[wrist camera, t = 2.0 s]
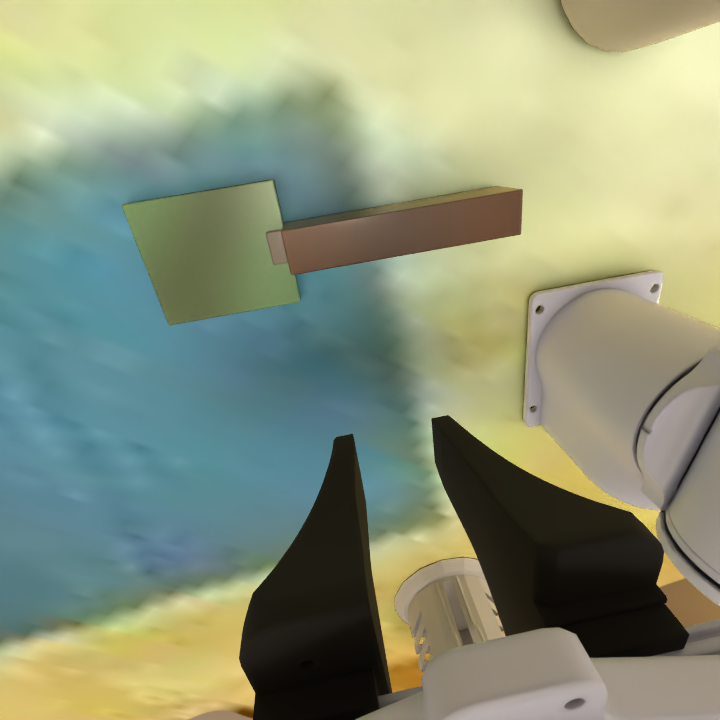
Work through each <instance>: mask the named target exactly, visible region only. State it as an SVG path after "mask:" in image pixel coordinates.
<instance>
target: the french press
mask: <svg viewBox="0 0 720 720" xmlns="http://www.w3.org/2000/svg"><path fill="white" fill-rule="evenodd" d="M395 611H396V612H397V614H398V615H399V616H400V618H401V619H402V620H403V621H404V622H405V623H407V624H409V625H410V628H411V632H412V637H413V638H414V637H416V638H415V644H414V646H415V650H416V654H420V656H419V661H418V664H419V668H420V671H421V672H423V671H424V670H425V667H426V666H427V664H428V663H429V662H430V661H432V660H433V659H434V658H435V657H436V656H438V655H439V654H441V653H443V652H446V651H449V650H451V649H454V648H457V647H461V646H465V645H470V644H474V643H479V642H483V641H488V640H492V639H497V638H501V637H506V635H504V634H503V633H502V632H503V631H504V629H503V626H502V624H501V621H500V619H499V618H498V617H497V615H498V612H497V609H496V606H495V604H494V601H493V598H492V595H491V593H490V590H489V587H488V584H487V582H486V579H485V576H484V574H483V571H482V568H481V566H480V563H479V561H478V559H471V558H465V557H462V558H455V559H448V560H441V561H439V562H436V563H434V564H431V565H429V566H427V567H424V568H422V569H420V570H418V571H417V572H416V573H415V574H413V575H412V576H411V577H409V578H408V579H407V580H406V581H404V582H403V584H402V586H401V587H400V589H399V591H398V593H397V594H396V596H395ZM421 637H423V638H425V640H424V643H423V644H419V641H420V638H421ZM429 644H430V645H429ZM426 653H429V654H431V655H430V658H429V661H424V657H425V654H426Z"/></svg>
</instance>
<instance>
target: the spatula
mask: <svg viewBox="0 0 720 720" xmlns="http://www.w3.org/2000/svg"><path fill="white" fill-rule="evenodd" d="M522 198H523V190H522V189H515V188H507V187H498V186H495V187H489V188H483V189H477V190H472V191H466V192H460V193H454V194H448V195H442V196H437V197H431V198H425V199H419V200H413V201H407V202H402V203H396V204H390V205H384V206H378V207H373V208H367V209H361V210H355V211H349V212H343V213H338V214H332V215H326V216H320V217H314V218H308V219H303V220H297V221H291V222H285V223H284V222H283V218H282V213H281V209H280V204H279V200H278V195H277V191H276V187H275V182H274V180H273V179H272V180H266V181H260V182H254V183H248V184H242V185H236V186H230V187H224V188H218V189H212V190H206V191H200V192H194V193H188V194H182V195H176V196H170V197H164V198H158V199H152V200H146V201H140V202H134V203H128V204H123V205H122V208H123V211H124V213H125V216H126V218H127V221H128V223H129V226H130V228H131V231H132V233H133V236H134V238H135V241H136V244H137V246H138V249H139V251H140V254H141V256H142V259H143V261H144V264H145V266H146V269H147V271H148V274H149V276H150V279H151V281H152V284H153V286H154V289H155V291H156V294H157V297H158V299H159V302H160V304H161V307H162V309H163V312H164V314H165V317H166V319H167V322H168V324H169V325H175V324H180V323H186V322H191V321H197V320H202V319H208V318H213V317H219V316H224V315H230V314H235V313H241V312H247V311H252V310H258V309H263V308H269V307H274V306H280V305H285V304H291V303H296V302H300V299H301V298H300V293H299V289H298V284H297V280H296V276H295V274H301V273H307V272H312V271H318V270H324V269H329V268H335V267H340V266H346V265H352V264H357V263H363V262H369V261H374V260H380V259H385V258H391V257H397V256H402V255H408V254H414V253H419V252H425V251H431V250H436V249H442V248H447V247H453V246H459V245H464V244H470V243H476V242H481V241H487V240H492V239H498V238H504V237H509V236H515V235H520V234H521V224H522Z"/></svg>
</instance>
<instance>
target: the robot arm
mask: <svg viewBox="0 0 720 720" xmlns="http://www.w3.org/2000/svg"><path fill="white" fill-rule="evenodd" d="M663 279H664V275H663V273H662V272H660V271H657V270H652V271H646V272H641V273H635V274H630V275H624V276H619V277H614V278H608V279H603V280H597V281H592V282H586V283H581V284H576V285H570V286H565V287H559V288H554V289H548V290H543V291H538V292H535V293H534V294H532V295H531V297H530V299H529V310H528V330H527V351H526V371H525V391H524V411H523V422H524V423H525V424H526V425H527V426H528V427H534V426H539V425H541V426H542V427H543V428H544V429H545V430H546V432H547V433H548V434H549V435H550V436H551V437H552V438H553V439H554V440H555V442H556V443H557V444H558V445H559V446H560V447H561V448H562V449H563V450H564V451H565V453H566V454H567V455H568V456H569V457H570V458H571V459H572V460H573V461H574V463H575V464H576V465H577V466H578V467H579V468H580V469H581V470H582V471H583V473H584V474H585V475H586V476H587V477H588V478H589V479H590V480H591V481H592V482H593V483H594V484H595V485H596V486H597V487H599V488H600V489H601V490H603V491H604V492H606V493H607V494H609V495H611V496H612V497H614V498H616V499H618V500H621V501H623V502H625V503H627V504H630V505H633V506H636V507H640V508H644V509H651V510H661V512H660V513H659V515H658V517H657V520H656V533H657V537H658V539H657V538H656V537H655V536H654V535H653V534H652V533H651V532H650V531H649V530H648V529H647V528H646V526H645V525H644V524H643V523H642V522H641V521H639V520H638V519H637V518H636V517H635V516H634V515H633V514H632V513H631V512H628V511H625V510H622V509H619V508H615V507H612V506H609V505H605V504H602V503H599V502H596V501H593V500H590V499H587V498H584V497H582V496H579V495H576V494H574V493H571V492H569V491H566V490H564V489H561V488H559V487H557V486H555V485H553V484H550V483H548V482H546V481H544V480H542V479H540V478H538V477H536V476H534V475H532V474H530V473H528V472H526V471H525V470H523V469H521V468H519V467H517V466H516V465H514V464H512V463H511V462H509V461H508V460H506V459H504V458H503V457H501V456H500V455H498V454H497V453H496V452H494V451H493V450H491V449H490V448H489V447H487V446H486V445H485V444H483V443H482V442H481V441H479V440H478V439H477V438H475V437H474V436H473V435H472V434H470V433H469V432H468V431H467V430H465V429H464V428H463V427H462V426H461V425H459V424H458V423H457V422H456V421H455V420H454V419H452V418H451V417H450V416H448V415H447V416H442V417H436V418H432V431H433V443H434V456H435V464H436V466H437V469H438V472H439V475H440V478H441V481H442V484H443V486H444V488H445V491H446V493H447V495H448V497H449V499H450V501H451V503H452V505H453V507H454V509H455V511H456V513H457V515H458V517H459V519H460V521H461V523H462V525H463V527H464V529H465V531H466V533H467V535H468V537H469V539H470V541H471V544H472V546H473V548H474V550H475V553H476V555H477V558H478V561H479V563H480V566H481V568H482V571H483V574H484V576H485V579H486V582H487V584H488V587H489V590H490V593H491V595H492V598H493V601H494V604H495V606H496V609H497V612H498V615H499V618H500V621H501V624H502V626H503V629H504V632H505V635H506V637H501V638H497V639H492V640H488V641H483V642H479V643H474V644H470V645H465V646H461V647H457V648H454V649H451V650H449V651H446V652H443V653H441V654H439V655H438V656H436V657H435V658H434V659H433V660H432V661H430V662H429V663H428V664H427V666H426V667H425V670H424V673H423V676H422V679H421V680H422V686H421V687H417V688H412V689H408V690H403V691H399V692H395V693H392V689H391V683H390V678H389V672H388V666H387V660H386V654H385V648H384V643H383V637H382V631H381V625H380V619H379V613H378V607H377V601H376V595H375V589H374V583H373V577H372V570H371V562H370V549H369V536H368V523H367V510H366V501H365V495H364V489H363V484H362V478H361V473H360V468H359V463H358V458H357V452H356V447H355V442H354V437H353V434H350V435H345V436H340V437H336V438H335V439H334V443H333V450H332V455H331V459H330V463H329V466H328V469H327V472H326V475H325V478H324V481H323V484H322V486H321V489H320V491H319V494H318V496H317V499H316V501H315V503H314V505H313V507H312V510H311V512H310V513H309V515H308V517H307V519H306V521H305V523H304V525H303V526H302V528H301V530H300V531H299V533H298V535H297V537H296V538H295V540H294V541H293V543H292V544H291V546H290V547H289V549H288V550H287V551H286V553H285V554H284V556H283V557H282V558H281V560H280V561H279V563H278V564H277V565H276V567H275V568H274V569H273V570H272V572H271V573H270V574H269V575H268V576H267V578H266V579H265V580H264V581H263V582H262V583H261V585H260V586H259V587H258V588H257V589H256V590H255V592H254V593H253V595H252V598H251V601H250V604H249V607H248V611H247V614H246V618H245V622H244V627H243V632H242V640H241V648H240V656H239V659H240V663H241V667H242V669H243V670H244V672H245V674H246V676H247V678H248V680H249V682H250V684H251V686H252V687H253V689H254V691H255V693H256V694H255V704H254V715H253V720H720V619H718V620H714V621H709V622H705V623H700V624H696V625H691V626H687V627H683V626H682V624H681V623H680V622H679V621H678V620H677V618H676V617H675V616H674V615H673V613H672V612H671V611H670V610H669V609H668V607H667V606H666V605H665V604H664V603H666V602H667V598H666V595H665V594H664V593H663V592H662V591H661V589H660V588H659V587H658V586H657V585H656V582H657V579H658V576H659V573H660V569H661V566H662V563H663V556H664V552H665V553H666V555H667V557H668V558H669V559H670V560H671V562H672V563H673V564H674V566H675V567H676V568H677V569H678V570H679V571H680V572H681V574H682V575H683V576H684V577H685V578H686V579H687V580H688V581H689V582H690V583H692V584H693V585H694V586H695V587H696V588H697V589H698V590H699V591H700V592H702V593H703V594H704V595H705V596H706V597H708V598H709V599H710V600H711V601H713V602H714V603H715V604H717V605H718V606H720V328H717V327H715V326H712V325H710V324H707V323H705V322H702V321H700V320H697V319H695V318H692V317H690V316H687V315H685V314H682V313H680V312H677V311H675V310H672V309H669V308H667V307H664V306H662V305H659V304H658V303H659V298H660V293H661V288H662V283H663ZM652 285H653V288H652V289H651V290H650V288H651V286H652ZM538 306H541V307H540V309H539V311H537V312H536V311H535V310H536V308H537V307H538ZM532 406H534V407H533V408H532V409H530V408H531V407H532ZM658 540H659V541H658Z"/></svg>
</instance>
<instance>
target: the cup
mask: <svg viewBox="0 0 720 720" xmlns="http://www.w3.org/2000/svg"><path fill="white" fill-rule="evenodd" d="M561 2H562V7H563V9H564V11H565V13H566V15H567V17H568V19H569V21H570V23H571V25H572V27H573V29H574V30H575V31H576V32H577V33H578V34H579V35H580V36H581V37H582V38H583V39H584V40H585V41H586V42H587V43H588V44H590V45H592V46H595V47H597V48H599V49H601V50H603V51H612V52H626V51H630V50H634V49H638V48H642V47H645V46H649V45H653V44H656V43H659V42H662V41H665V40H668V39H671V38H673V37H676V36H679V35H682V34H685V33H688V32H691V31H694V30H696V29H699V28H702V27H705V26H708V25H711V24H714V23H717V22H719V21H720V0H561Z"/></svg>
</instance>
